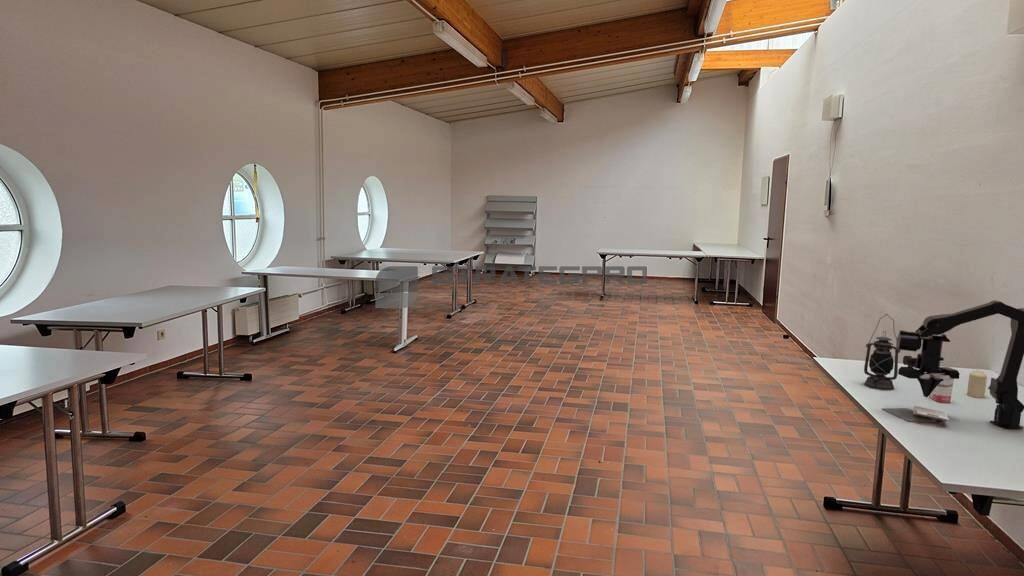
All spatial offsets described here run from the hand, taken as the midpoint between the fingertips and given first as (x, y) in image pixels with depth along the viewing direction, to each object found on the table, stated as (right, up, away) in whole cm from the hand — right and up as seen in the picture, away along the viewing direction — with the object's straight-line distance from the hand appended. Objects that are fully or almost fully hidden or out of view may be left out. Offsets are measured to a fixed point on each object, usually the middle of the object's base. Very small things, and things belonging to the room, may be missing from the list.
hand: (925, 396), depth 216 cm
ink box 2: (+1, -5, 0) cm, 5 cm away
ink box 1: (+19, -5, +21) cm, 28 cm away
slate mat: (-6, -7, 0) cm, 9 cm away
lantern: (+5, -2, +36) cm, 37 cm away
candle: (+37, -5, +27) cm, 46 cm away
